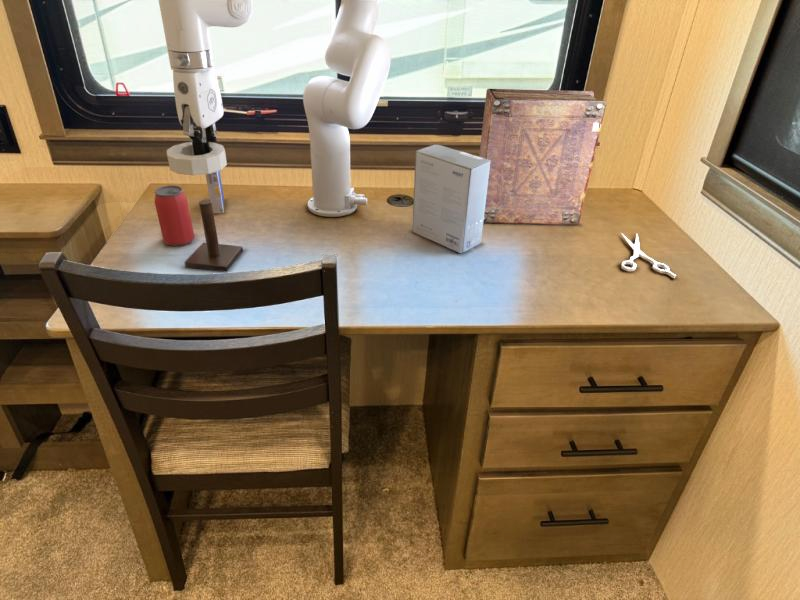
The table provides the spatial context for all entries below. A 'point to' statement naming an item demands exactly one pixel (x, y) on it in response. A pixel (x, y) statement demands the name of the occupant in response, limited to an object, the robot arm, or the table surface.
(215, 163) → the tape roll
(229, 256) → the spindle
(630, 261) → the scissors
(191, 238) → the beer can
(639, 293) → the table surface
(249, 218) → the table surface
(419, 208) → the hard drive box
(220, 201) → the walkman
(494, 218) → the book
